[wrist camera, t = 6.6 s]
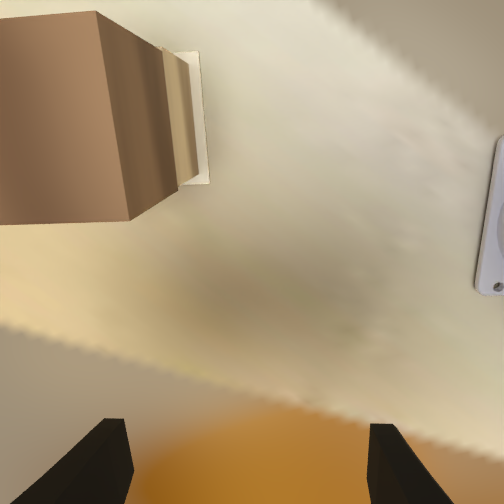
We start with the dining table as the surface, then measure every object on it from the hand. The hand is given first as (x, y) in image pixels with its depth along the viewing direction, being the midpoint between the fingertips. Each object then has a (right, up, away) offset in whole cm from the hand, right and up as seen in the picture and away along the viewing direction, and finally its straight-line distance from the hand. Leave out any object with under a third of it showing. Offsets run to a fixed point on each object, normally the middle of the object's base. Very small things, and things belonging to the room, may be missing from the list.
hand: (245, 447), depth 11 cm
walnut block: (-5, +10, +3) cm, 12 cm away
